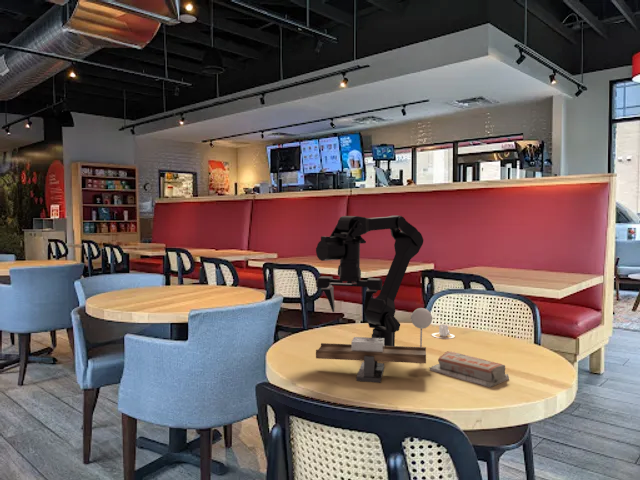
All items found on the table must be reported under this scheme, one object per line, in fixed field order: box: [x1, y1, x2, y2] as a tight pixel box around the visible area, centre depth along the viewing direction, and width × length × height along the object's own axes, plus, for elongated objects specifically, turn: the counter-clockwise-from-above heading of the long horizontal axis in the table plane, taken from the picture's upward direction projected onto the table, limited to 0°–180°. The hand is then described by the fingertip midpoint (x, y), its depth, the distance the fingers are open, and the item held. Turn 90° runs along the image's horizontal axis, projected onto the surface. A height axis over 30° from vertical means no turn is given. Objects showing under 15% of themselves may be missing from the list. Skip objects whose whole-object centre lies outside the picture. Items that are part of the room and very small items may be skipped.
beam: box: [315, 342, 427, 364], centre depth 131 cm, size 28×8×2 cm, turn 79°
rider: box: [351, 336, 384, 352], centre depth 130 cm, size 8×5×3 cm, turn 78°
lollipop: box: [410, 307, 433, 347], centre depth 144 cm, size 6×6×15 cm
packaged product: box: [429, 351, 510, 388], centre depth 131 cm, size 18×5×10 cm
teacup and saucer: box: [431, 323, 456, 340], centre depth 173 cm, size 9×8×4 cm
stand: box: [356, 355, 385, 383], centre depth 131 cm, size 6×13×6 cm, turn 169°
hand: (349, 312), depth 146 cm, fingers open, 9 cm apart
